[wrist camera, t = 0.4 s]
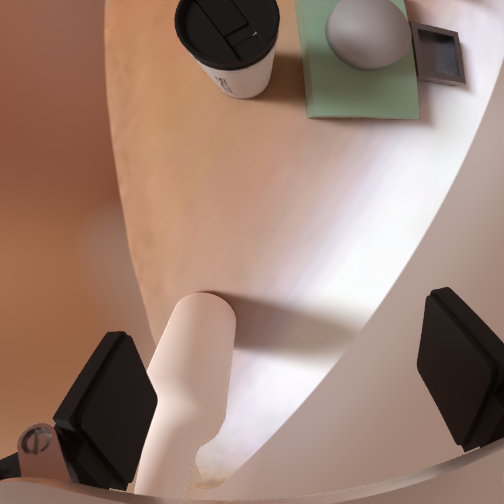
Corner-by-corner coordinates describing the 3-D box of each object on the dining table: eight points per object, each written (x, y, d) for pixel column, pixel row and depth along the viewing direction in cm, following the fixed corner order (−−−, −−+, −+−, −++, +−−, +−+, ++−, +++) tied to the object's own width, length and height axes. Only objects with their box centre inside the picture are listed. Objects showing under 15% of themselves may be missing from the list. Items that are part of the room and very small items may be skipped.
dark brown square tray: (400, 28, 30) (410, 21, 27) (446, 37, 29) (457, 32, 26) (408, 79, 32) (418, 76, 29) (453, 85, 32) (465, 83, 29)
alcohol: (202, 276, 42) (128, 488, 14) (250, 318, 44) (238, 532, 16) (162, 315, 44) (79, 502, 16) (208, 352, 46) (169, 543, 18)
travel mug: (250, 38, 31) (241, -47, 13) (280, 82, 33) (303, 28, 14) (204, 65, 33) (150, 3, 14) (234, 109, 34) (206, 81, 16)
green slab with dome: (292, -15, 28) (300, -50, 20) (384, -8, 28) (411, -35, 19) (307, 118, 35) (322, 113, 26) (401, 119, 34) (437, 118, 26)
